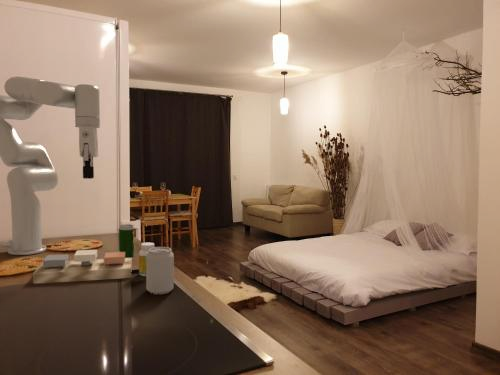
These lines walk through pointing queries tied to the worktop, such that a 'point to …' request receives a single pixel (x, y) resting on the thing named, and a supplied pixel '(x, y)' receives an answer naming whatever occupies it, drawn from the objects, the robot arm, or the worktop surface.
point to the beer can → (126, 240)
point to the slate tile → (55, 261)
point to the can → (160, 270)
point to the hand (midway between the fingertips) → (88, 178)
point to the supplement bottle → (144, 257)
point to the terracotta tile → (114, 258)
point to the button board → (83, 272)
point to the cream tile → (85, 256)
